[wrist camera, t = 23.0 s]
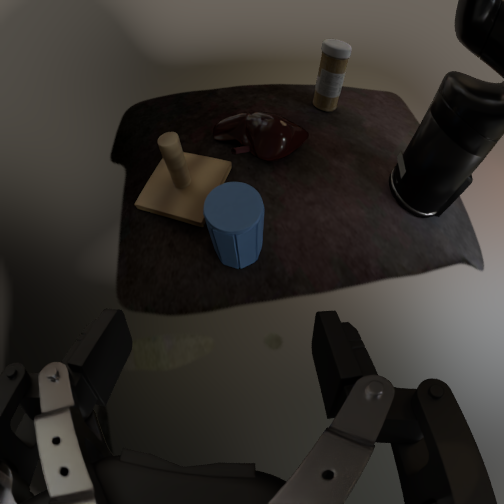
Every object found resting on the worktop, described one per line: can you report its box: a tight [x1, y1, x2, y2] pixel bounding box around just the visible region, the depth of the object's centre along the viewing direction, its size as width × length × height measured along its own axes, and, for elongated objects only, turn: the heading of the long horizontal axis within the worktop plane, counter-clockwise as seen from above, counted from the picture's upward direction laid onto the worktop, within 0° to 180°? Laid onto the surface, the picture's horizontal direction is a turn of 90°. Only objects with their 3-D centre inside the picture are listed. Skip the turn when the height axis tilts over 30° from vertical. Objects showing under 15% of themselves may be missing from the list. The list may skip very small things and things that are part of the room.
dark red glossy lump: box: [213, 112, 309, 161], centre depth 37 cm, size 6×12×11 cm
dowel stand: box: [135, 132, 232, 227], centre depth 31 cm, size 10×10×9 cm
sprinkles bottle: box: [313, 39, 352, 111], centre depth 36 cm, size 5×5×13 cm
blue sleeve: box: [203, 182, 264, 269], centre depth 28 cm, size 5×5×9 cm
